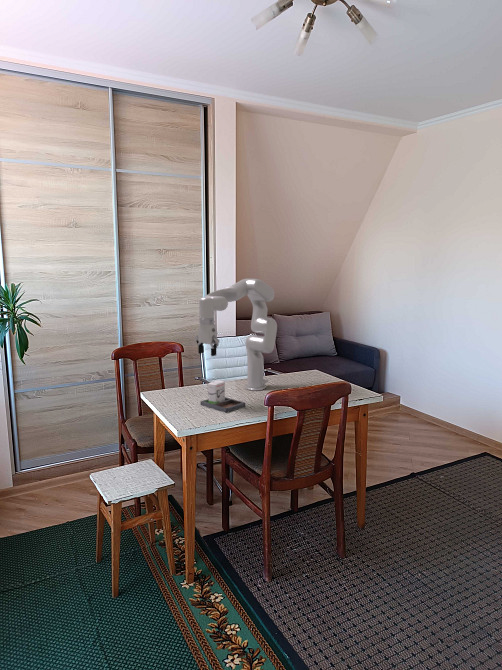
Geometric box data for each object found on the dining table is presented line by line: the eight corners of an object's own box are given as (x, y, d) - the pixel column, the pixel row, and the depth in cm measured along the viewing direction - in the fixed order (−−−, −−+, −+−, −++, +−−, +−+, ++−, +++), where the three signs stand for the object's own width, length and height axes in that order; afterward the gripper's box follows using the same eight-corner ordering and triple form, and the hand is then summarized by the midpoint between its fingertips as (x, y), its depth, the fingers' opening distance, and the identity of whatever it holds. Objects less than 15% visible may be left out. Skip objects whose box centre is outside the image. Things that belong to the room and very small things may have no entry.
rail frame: (219, 399, 255) (219, 395, 255) (245, 406, 242) (245, 402, 242) (200, 405, 245) (200, 401, 244) (226, 412, 232) (226, 408, 232)
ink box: (215, 406, 242) (215, 384, 240) (208, 405, 244) (207, 383, 242) (225, 402, 249) (225, 381, 247) (217, 401, 252) (217, 379, 250)
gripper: (223, 322, 235) (224, 355, 238) (201, 319, 247) (201, 351, 250) (212, 323, 230) (213, 357, 233) (190, 320, 242) (190, 353, 244)
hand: (207, 354), depth 241 cm, fingers open, 9 cm apart
